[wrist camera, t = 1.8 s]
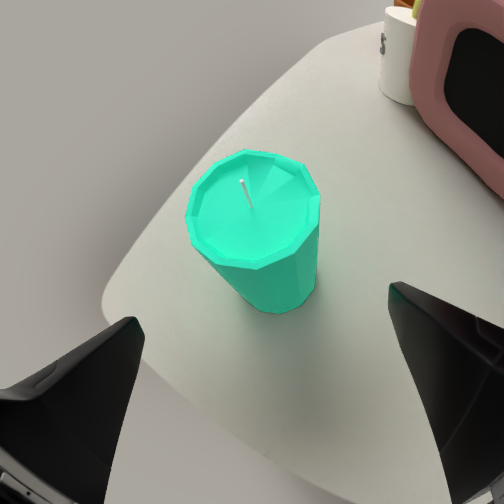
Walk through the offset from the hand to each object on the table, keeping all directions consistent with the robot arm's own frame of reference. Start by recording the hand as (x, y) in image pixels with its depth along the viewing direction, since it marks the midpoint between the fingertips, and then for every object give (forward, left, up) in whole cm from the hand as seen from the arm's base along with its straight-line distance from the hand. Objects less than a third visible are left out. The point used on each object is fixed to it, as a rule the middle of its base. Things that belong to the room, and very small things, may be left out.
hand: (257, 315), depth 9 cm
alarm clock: (+17, -24, -11) cm, 31 cm away
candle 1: (+5, 0, -11) cm, 13 cm away
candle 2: (+26, -17, -11) cm, 33 cm away
